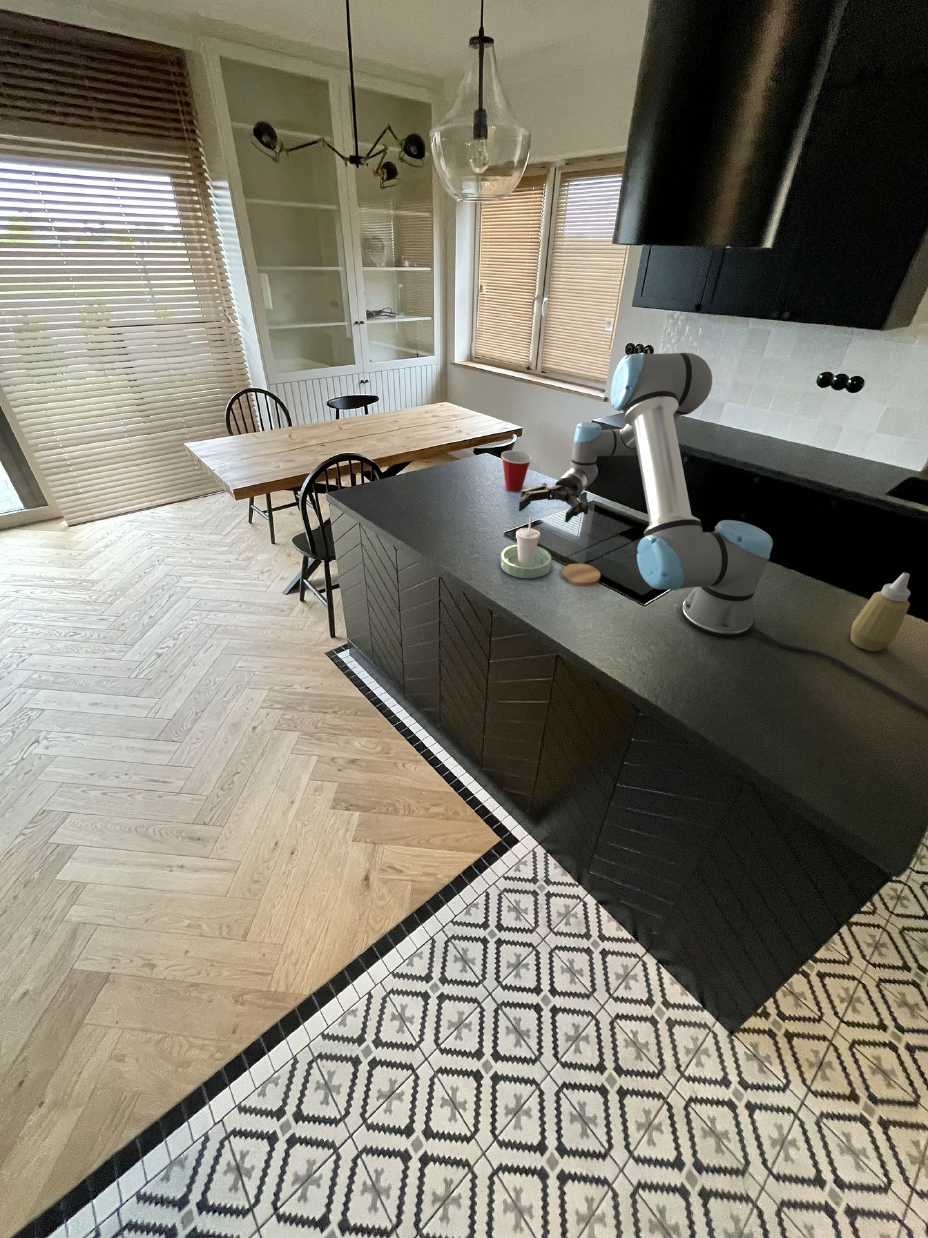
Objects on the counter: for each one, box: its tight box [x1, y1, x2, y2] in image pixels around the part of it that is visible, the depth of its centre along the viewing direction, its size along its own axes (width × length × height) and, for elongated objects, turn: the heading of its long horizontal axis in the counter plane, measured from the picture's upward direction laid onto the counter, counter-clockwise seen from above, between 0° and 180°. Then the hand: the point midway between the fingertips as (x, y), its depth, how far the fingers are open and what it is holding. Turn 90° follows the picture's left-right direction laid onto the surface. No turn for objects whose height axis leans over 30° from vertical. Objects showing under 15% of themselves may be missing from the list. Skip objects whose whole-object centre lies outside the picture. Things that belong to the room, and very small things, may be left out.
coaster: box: [561, 563, 601, 586], centre depth 140 cm, size 10×10×1 cm
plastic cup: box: [500, 449, 533, 492], centre depth 185 cm, size 11×11×12 cm
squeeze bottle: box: [850, 572, 912, 652], centre depth 112 cm, size 8×8×18 cm
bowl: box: [500, 544, 553, 579], centre depth 143 cm, size 13×13×3 cm
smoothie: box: [515, 516, 541, 567], centre depth 139 cm, size 6×6×14 cm
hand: (543, 512), depth 143 cm, fingers open, 13 cm apart
